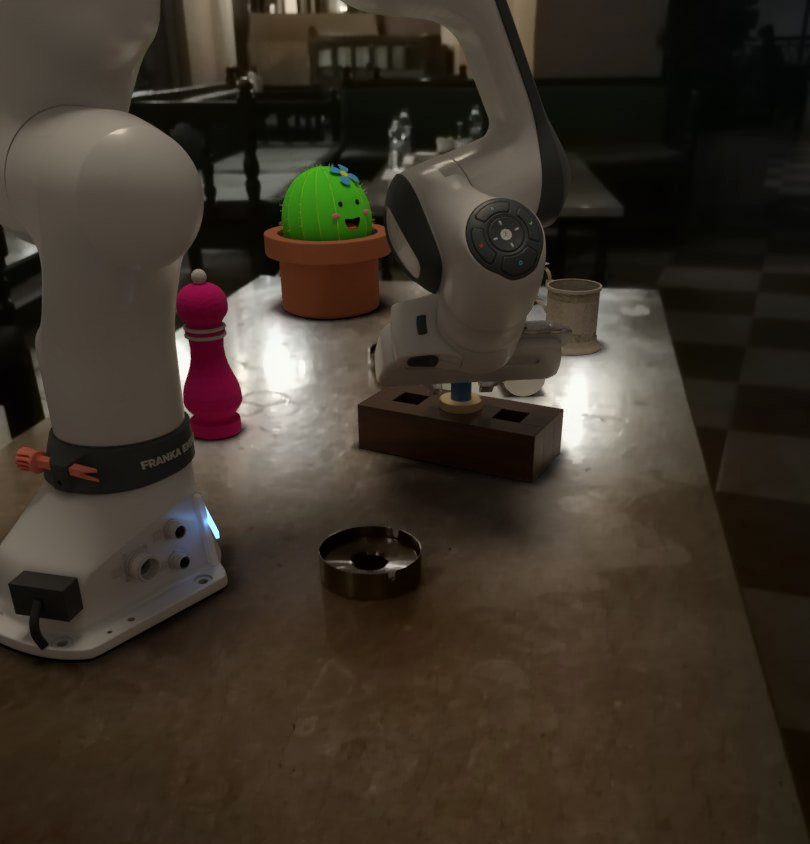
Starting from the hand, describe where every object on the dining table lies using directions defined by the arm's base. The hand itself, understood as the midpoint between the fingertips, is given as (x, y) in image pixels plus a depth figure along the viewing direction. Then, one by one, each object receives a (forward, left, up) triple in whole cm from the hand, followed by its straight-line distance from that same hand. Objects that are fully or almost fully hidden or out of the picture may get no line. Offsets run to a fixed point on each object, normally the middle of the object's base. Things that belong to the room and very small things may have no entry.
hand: (459, 388), depth 105 cm
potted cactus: (+49, +49, -8) cm, 70 cm away
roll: (+25, +3, -8) cm, 27 cm away
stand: (-1, 0, -8) cm, 8 cm away
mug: (+46, +4, -8) cm, 47 cm away
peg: (0, 0, -6) cm, 6 cm away
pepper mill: (-9, +30, -8) cm, 32 cm away
